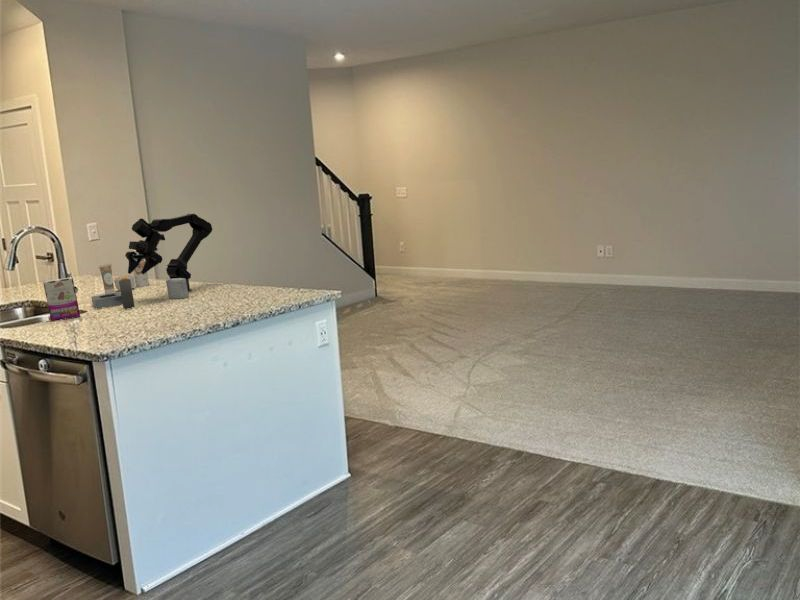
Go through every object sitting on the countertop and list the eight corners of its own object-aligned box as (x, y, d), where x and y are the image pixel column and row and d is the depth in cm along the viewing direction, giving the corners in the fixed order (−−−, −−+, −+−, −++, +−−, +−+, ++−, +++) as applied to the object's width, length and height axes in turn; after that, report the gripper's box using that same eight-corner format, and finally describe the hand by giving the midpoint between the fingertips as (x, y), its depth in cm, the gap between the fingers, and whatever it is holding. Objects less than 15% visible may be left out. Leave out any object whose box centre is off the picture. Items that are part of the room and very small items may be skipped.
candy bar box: (79, 314, 291) (72, 276, 288) (80, 316, 287) (73, 277, 284) (50, 319, 286) (42, 280, 283) (50, 321, 282) (43, 282, 279)
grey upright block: (136, 306, 300) (131, 275, 297) (131, 308, 295) (125, 277, 292) (127, 306, 300) (121, 276, 298) (121, 309, 296) (115, 278, 293)
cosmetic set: (109, 295, 334) (102, 257, 331) (98, 294, 340) (91, 257, 336) (153, 285, 354) (147, 249, 350) (142, 284, 359) (136, 249, 356)
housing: (120, 300, 317) (119, 292, 316) (125, 304, 307) (123, 295, 306) (92, 305, 311) (91, 296, 310) (96, 309, 301) (94, 300, 300)
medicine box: (189, 297, 311) (186, 278, 309) (182, 299, 307) (179, 280, 305) (175, 296, 314) (172, 278, 313) (168, 299, 310) (165, 280, 309)
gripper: (124, 233, 308) (108, 263, 302) (151, 233, 298) (135, 264, 292) (142, 247, 316) (127, 276, 310) (169, 247, 306) (154, 277, 300)
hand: (135, 273), depth 303 cm, fingers open, 9 cm apart
